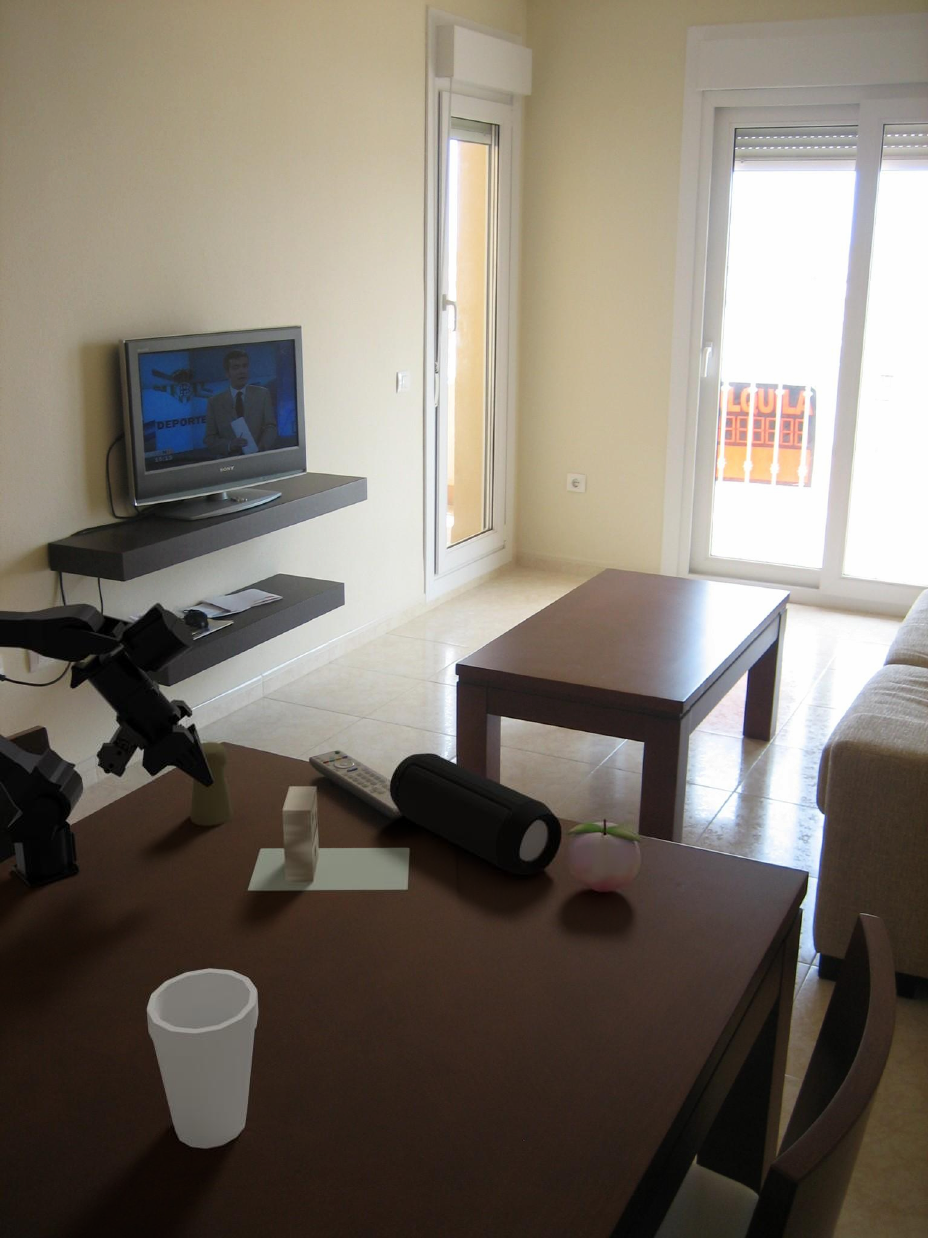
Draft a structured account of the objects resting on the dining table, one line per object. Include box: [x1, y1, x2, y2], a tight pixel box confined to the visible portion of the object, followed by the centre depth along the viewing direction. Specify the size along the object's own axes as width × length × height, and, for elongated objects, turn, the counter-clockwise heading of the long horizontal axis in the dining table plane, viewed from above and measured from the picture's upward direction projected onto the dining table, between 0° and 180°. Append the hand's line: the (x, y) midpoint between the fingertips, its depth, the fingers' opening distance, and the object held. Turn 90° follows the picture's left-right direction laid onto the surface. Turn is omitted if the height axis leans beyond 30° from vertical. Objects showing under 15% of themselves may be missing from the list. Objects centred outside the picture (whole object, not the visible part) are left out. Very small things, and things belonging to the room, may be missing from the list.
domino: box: [282, 785, 319, 882], centre depth 148 cm, size 4×7×10 cm, turn 1°
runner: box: [247, 847, 411, 892], centre depth 149 cm, size 20×11×1 cm, turn 91°
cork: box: [189, 741, 234, 827], centre depth 162 cm, size 6×6×11 cm
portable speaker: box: [389, 752, 562, 875], centre depth 155 cm, size 26×10×10 cm, turn 42°
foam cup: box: [146, 968, 259, 1149], centre depth 103 cm, size 10×9×13 cm
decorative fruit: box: [566, 818, 644, 893], centre depth 143 cm, size 9×8×10 cm
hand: (210, 784), depth 146 cm, fingers closed
